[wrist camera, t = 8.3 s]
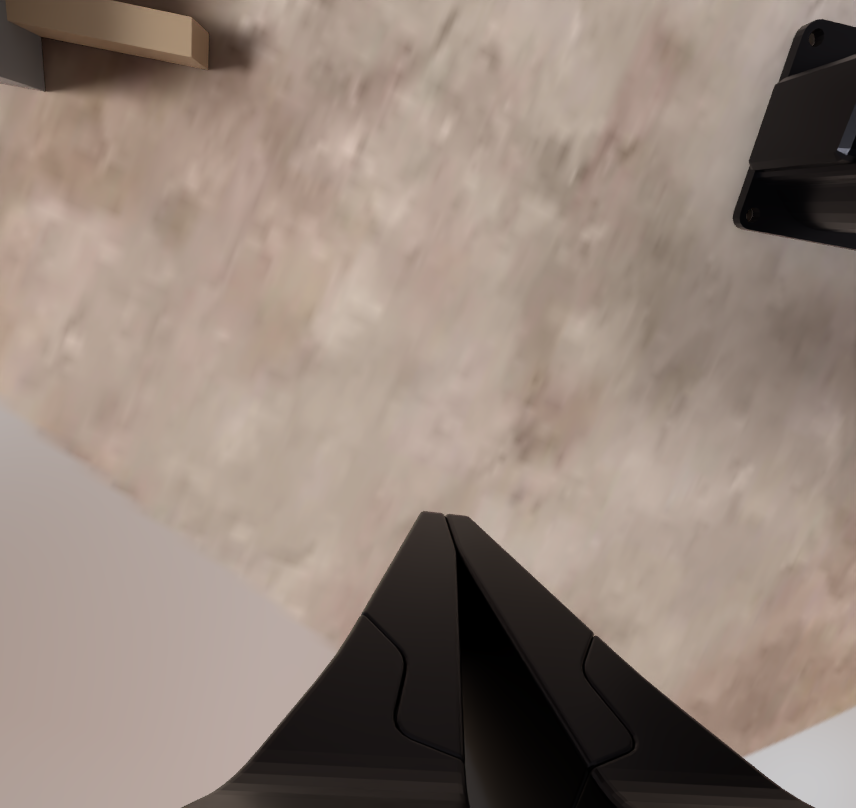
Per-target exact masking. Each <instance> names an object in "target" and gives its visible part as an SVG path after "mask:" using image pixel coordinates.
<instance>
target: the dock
mask: <svg viewBox="0 0 856 808" xmlns="http://www.w3.org/2000/svg"><path fill="white" fill-rule="evenodd" d="M41 37H45V38H50V39H55V40H60V41H65V42H70V43H75V44H80V45H85V46H90V47H95V48H100V49H105V50H110V51H115V52H120V53H125V54H130V55H135V56H140V57H145V58H150V59H155V60H160V61H165V62H170V63H175V64H181V65H186V66H191V67H196V68H201V69H206V70H208V58H209V33H208V32H207V31H206V30H205V29H204V28H203V27H202V26H200V25H199V24H198V23H197V22H196V21H195V20H194V19H193V18H192V17H189V16H184V15H179V14H175V13H170V12H165V11H160V10H155V9H151V8H146V7H141V6H136V5H132V4H127V3H122V2H117V1H112V0H0V83H2V84H7V85H12V86H18V87H23V88H28V89H34V90H39V91H45V82H44V69H43V56H42V43H41Z"/></svg>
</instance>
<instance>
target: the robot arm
mask: <svg viewBox="0 0 856 808" xmlns="http://www.w3.org/2000/svg"><path fill="white" fill-rule="evenodd" d="M811 33H813V34H814V36H815V43H814V44H813V46H811V45H810V43H809V36H810V34H811ZM749 164H750V167H749V170H748V172H747V175H746V178H745V181H744V184H743V187H742V190H741V193H740V196H739V199H738V201H737V204H736V207H735V210H734V214H733V222H734V224H735V225H736V227H738V228H740V229H743V230H749V231H754V232H760V233H765V234H770V235H776V236H781V237H787V238H792V239H797V240H803V241H808V242H813V243H819V244H824V245H830V246H835V247H840V248H846V249H851V250H856V27H852V26H848V25H844V24H840V23H836V22H832V21H828V20H823V19H819V20H815V21H813V22H811V23H808V24H806V25H804V26H802V27H801V28H800V29H799V30H798V31H797V33H796V35H795V37H794V39H793V42H792V45H791V48H790V51H789V54H788V57H787V59H786V62H785V65H784V68H783V71H782V74H781V77H780V80H779V83H777V84H776V85H775V87H774V89H773V92H772V95H771V98H770V101H769V104H768V107H767V110H766V113H765V115H764V118H763V121H762V124H761V127H760V130H759V133H758V136H757V139H756V142H755V145H754V148H753V150H752V153H751V156H750V159H749ZM750 209H752V211H753V216H752V218H751V219H750V220H749V221H747V219H746V214H747V212H748V211H749V210H750ZM593 636H594V633H593V632H592V631H591V630H590V629H589V628H588V627H587V626H586V625H585V624H584V623H583V622H582V621H581V620H579V619H578V618H577V617H576V616H575V615H574V614H573V613H572V612H571V611H570V610H569V609H568V608H567V607H565V606H564V605H563V604H562V603H561V602H560V601H559V600H558V599H557V598H556V597H555V596H554V595H553V594H551V593H550V592H549V591H548V590H547V589H546V588H545V587H544V586H543V585H542V584H541V583H540V582H538V581H537V580H536V579H535V578H534V577H533V576H532V575H531V574H530V573H529V572H528V571H527V570H526V569H524V568H523V567H522V566H521V565H520V564H519V563H518V562H517V561H516V560H515V559H514V558H513V557H512V556H510V555H509V554H508V553H507V552H506V551H505V550H504V549H503V548H502V547H501V546H500V545H499V544H497V543H496V542H495V541H494V540H493V539H492V538H491V537H490V536H489V535H488V534H487V533H486V532H485V531H483V530H482V529H481V528H480V527H479V526H478V525H477V524H476V523H475V522H474V521H473V520H472V519H471V518H469V517H468V516H463V515H454V514H447V515H446V516H444V514H442V513H436V512H427V511H423V512H421V513H420V515H419V516H418V518H417V520H416V521H415V523H414V525H413V527H412V528H411V530H410V532H409V533H408V535H407V537H406V539H405V540H404V542H403V544H402V545H401V547H400V549H399V551H398V552H397V554H396V556H395V557H394V559H393V561H392V562H391V564H390V566H389V568H388V569H387V571H386V573H385V574H384V576H383V578H382V580H381V581H380V583H379V585H378V586H377V588H376V590H375V592H374V593H373V595H372V597H371V598H370V600H369V602H368V604H367V605H366V607H365V609H364V610H363V612H362V614H361V616H360V617H359V618H358V620H357V622H356V624H355V625H354V627H353V629H352V630H351V632H350V634H349V635H348V637H347V638H346V640H345V641H344V643H343V644H342V646H341V647H340V649H339V651H338V652H337V654H336V655H335V656H334V658H333V659H332V660H331V662H330V663H329V664H328V666H327V667H326V668H325V670H324V671H323V672H322V673H321V675H320V676H319V677H318V679H317V680H316V681H315V682H314V684H313V685H312V686H311V687H310V688H309V690H308V691H307V692H306V693H305V694H304V696H303V697H302V698H301V699H300V700H299V702H298V703H297V704H296V705H295V706H294V708H293V709H292V710H291V711H290V712H289V713H288V715H287V716H286V717H285V718H284V720H283V721H282V722H281V723H280V724H279V725H278V727H277V728H276V729H275V730H274V732H273V733H272V734H271V735H270V736H269V737H268V739H267V740H266V741H265V742H264V743H263V745H262V746H261V747H260V748H259V750H258V751H257V752H256V753H255V754H254V755H253V756H252V757H251V759H250V760H249V761H248V762H247V763H246V764H245V765H244V766H243V767H242V768H241V769H240V770H239V771H238V772H237V773H236V774H235V775H234V776H233V777H232V778H231V779H230V780H229V781H227V782H226V783H225V784H224V785H222V786H221V787H220V788H218V789H217V790H215V791H214V792H212V793H211V794H209V795H207V796H205V797H203V798H200V799H199V800H196V801H194V802H192V803H190V804H188V805H186V806H184V807H182V808H815V807H813V806H811V805H809V804H807V803H805V802H803V801H801V800H800V799H798V798H796V797H795V796H793V795H792V794H790V793H789V792H787V791H785V790H784V789H782V788H781V787H780V786H778V785H777V784H776V783H774V782H773V781H772V780H770V779H769V778H768V777H766V776H765V775H764V774H762V773H761V772H760V771H759V770H757V769H756V768H755V767H754V766H752V765H751V764H750V763H749V762H747V761H746V760H745V759H744V758H742V757H741V756H740V755H739V754H737V753H736V752H735V751H734V750H732V749H731V748H730V747H729V746H727V745H726V744H725V743H724V742H722V741H721V740H720V739H719V738H717V737H716V736H715V735H714V734H712V733H711V732H710V731H709V730H707V729H706V728H705V727H704V726H702V725H701V724H700V723H699V722H697V721H696V720H695V719H694V718H692V717H691V716H690V715H689V714H687V713H686V712H685V711H684V710H682V709H681V708H680V707H679V706H677V705H676V704H675V703H674V702H673V701H671V700H670V699H669V698H668V697H666V696H665V695H664V694H663V693H662V692H660V691H659V690H658V689H657V688H656V687H654V686H653V685H652V684H651V683H650V682H648V681H647V680H646V679H645V678H643V677H642V676H641V675H640V674H639V673H638V672H637V671H636V670H634V669H633V668H632V667H631V666H630V665H629V664H628V663H627V662H625V661H624V660H623V659H622V658H621V657H620V656H619V655H618V654H616V653H615V652H614V651H613V650H612V649H611V648H610V647H609V646H608V645H607V644H606V643H605V642H603V641H602V640H601V639H600V638H599V637H598V636H594V637H593Z"/></svg>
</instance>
